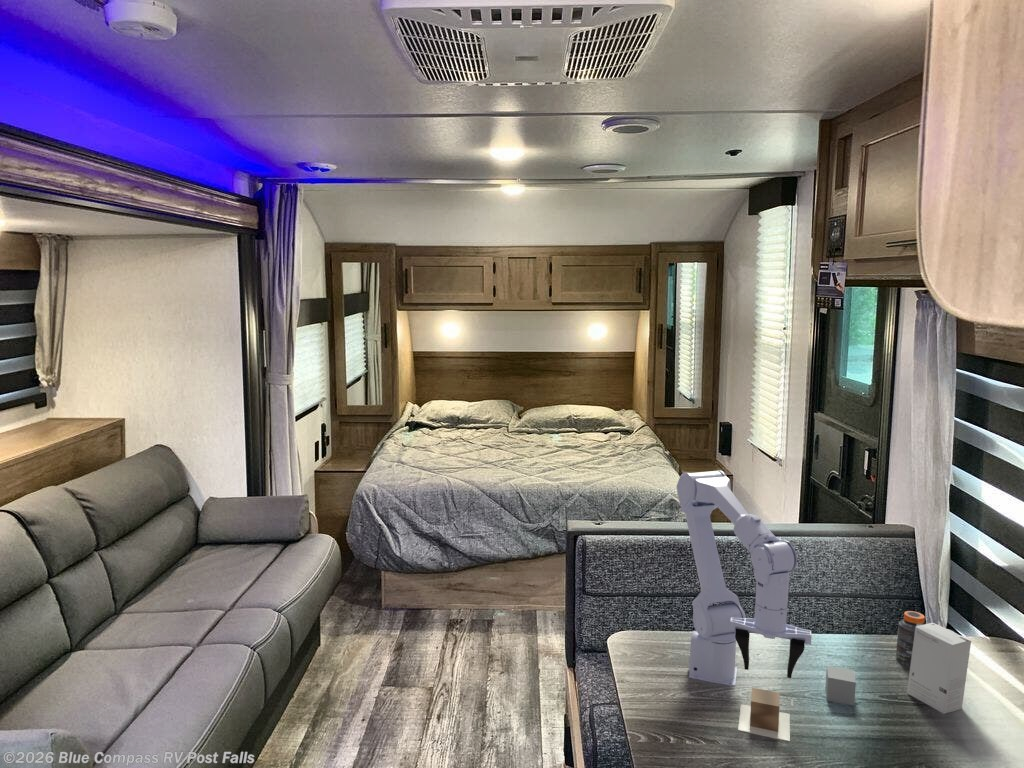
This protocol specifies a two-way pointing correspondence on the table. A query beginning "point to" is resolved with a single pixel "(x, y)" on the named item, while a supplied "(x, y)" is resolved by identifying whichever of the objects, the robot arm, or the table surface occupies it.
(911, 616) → the pill bottle
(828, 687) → the slate block
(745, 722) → the white square plate
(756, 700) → the walnut block
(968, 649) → the skincare box
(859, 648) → the table surface
